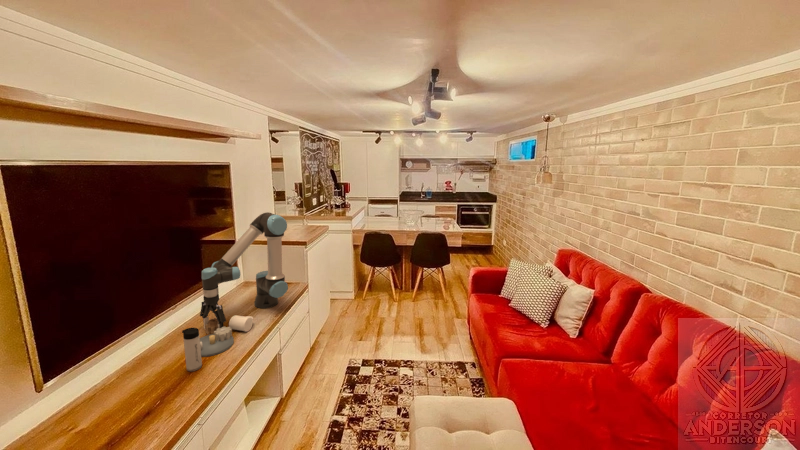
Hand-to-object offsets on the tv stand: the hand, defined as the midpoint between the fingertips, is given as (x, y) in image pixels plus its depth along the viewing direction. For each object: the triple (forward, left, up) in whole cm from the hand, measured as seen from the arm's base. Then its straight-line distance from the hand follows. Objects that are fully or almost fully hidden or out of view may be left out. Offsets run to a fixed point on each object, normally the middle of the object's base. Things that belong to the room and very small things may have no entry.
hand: (213, 330), depth 186 cm
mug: (-10, +12, -1) cm, 16 cm away
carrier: (+10, +13, 0) cm, 16 cm away
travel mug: (+27, +21, 0) cm, 34 cm away
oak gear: (0, 0, 0) cm, 0 cm away
